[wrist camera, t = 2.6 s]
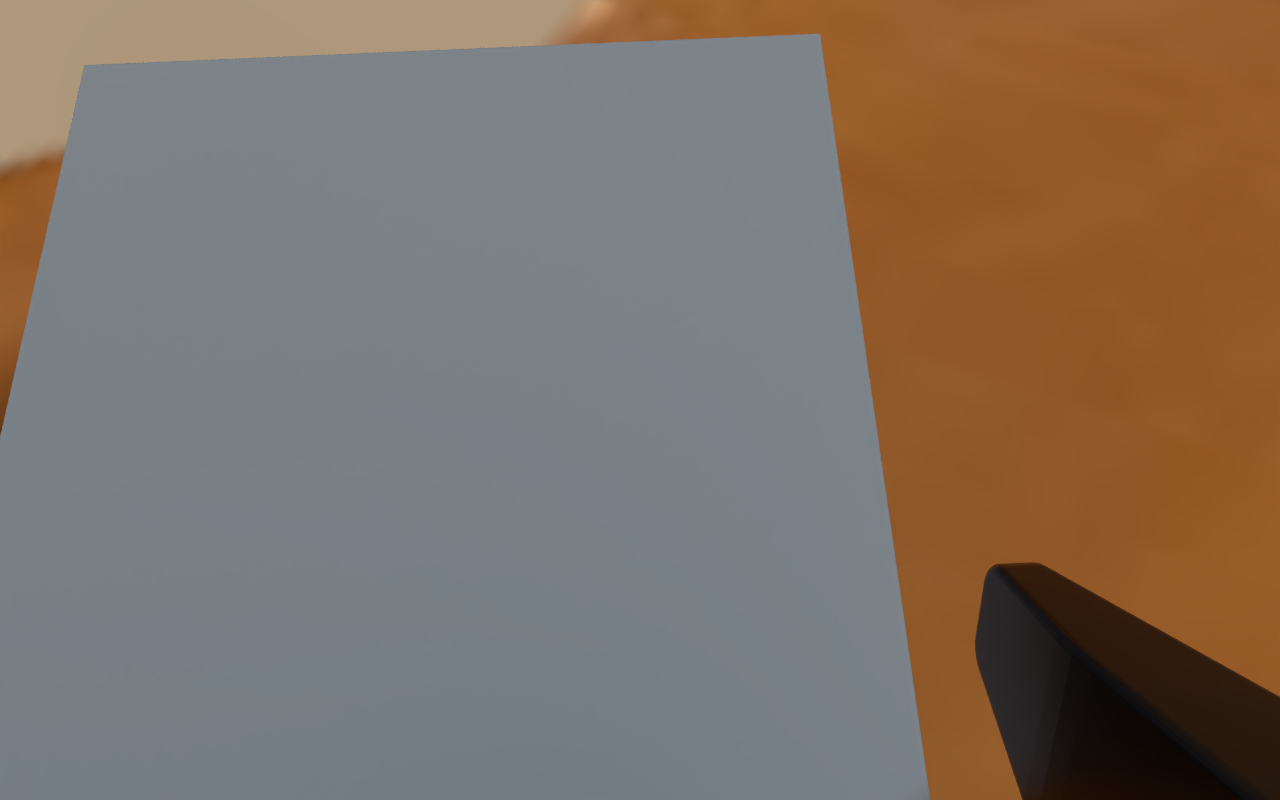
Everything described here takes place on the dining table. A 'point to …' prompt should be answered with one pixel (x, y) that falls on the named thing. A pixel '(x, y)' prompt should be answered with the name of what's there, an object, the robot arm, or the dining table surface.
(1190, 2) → the dining table surface
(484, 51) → the tall grey-blue carton
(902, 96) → the dining table surface
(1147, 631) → the robot arm
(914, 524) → the dining table surface
